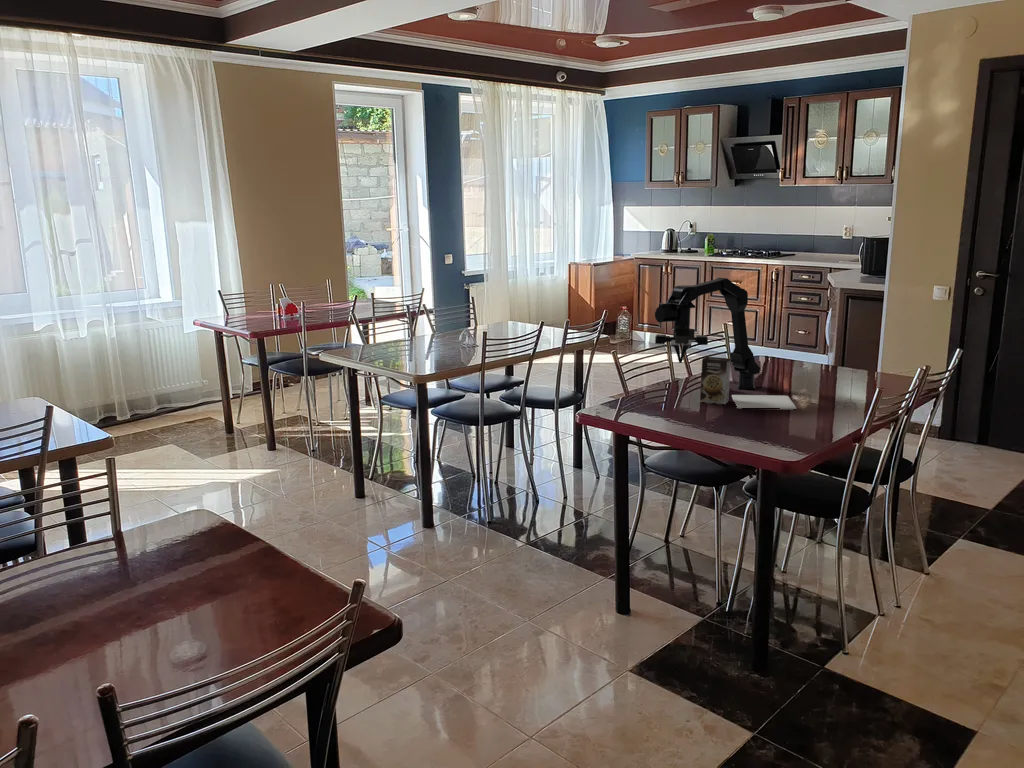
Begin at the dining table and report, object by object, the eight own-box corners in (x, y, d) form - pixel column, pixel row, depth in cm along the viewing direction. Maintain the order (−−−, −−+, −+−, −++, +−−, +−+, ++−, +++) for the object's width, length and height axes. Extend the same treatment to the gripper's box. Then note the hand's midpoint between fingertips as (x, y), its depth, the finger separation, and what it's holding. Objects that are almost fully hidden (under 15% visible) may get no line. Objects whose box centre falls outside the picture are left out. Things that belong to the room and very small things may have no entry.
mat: (731, 396, 295) (731, 394, 295) (787, 397, 292) (787, 395, 291) (737, 408, 277) (737, 406, 277) (796, 409, 274) (796, 407, 274)
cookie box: (699, 402, 287) (701, 359, 283) (704, 398, 292) (705, 356, 289) (725, 405, 282) (726, 360, 279) (729, 401, 288) (730, 357, 284)
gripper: (655, 323, 281) (654, 366, 285) (709, 324, 278) (707, 367, 282) (655, 319, 292) (654, 360, 295) (707, 320, 289) (705, 361, 292)
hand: (680, 362), depth 291 cm, fingers closed
